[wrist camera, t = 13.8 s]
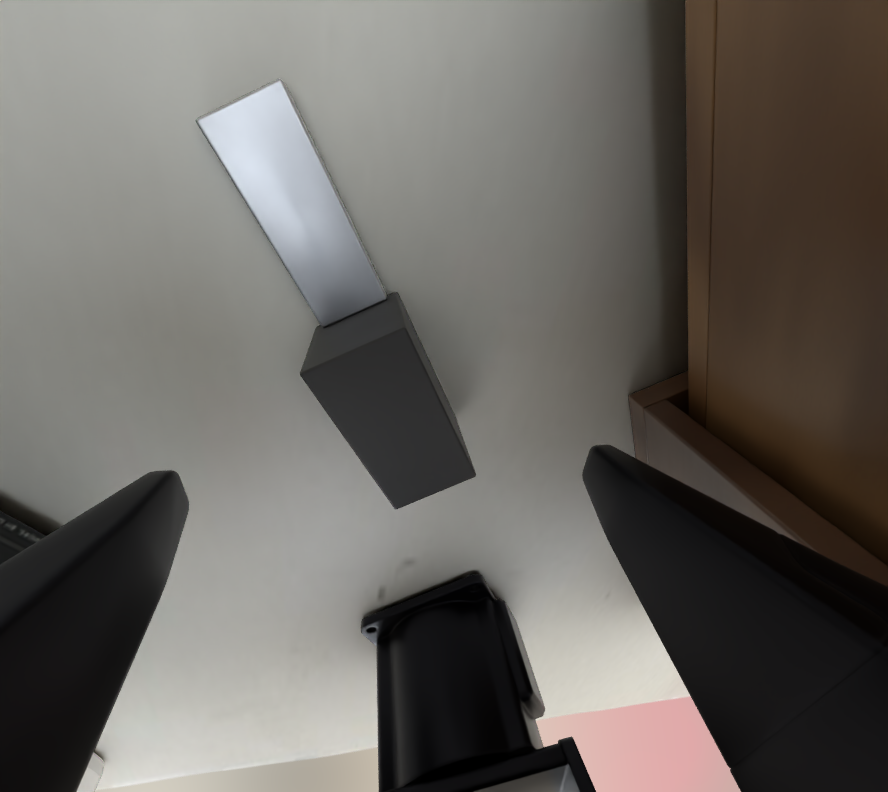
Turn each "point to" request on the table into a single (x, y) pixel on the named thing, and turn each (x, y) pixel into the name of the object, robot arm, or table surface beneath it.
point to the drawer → (792, 246)
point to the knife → (341, 302)
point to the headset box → (15, 537)
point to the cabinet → (732, 475)
